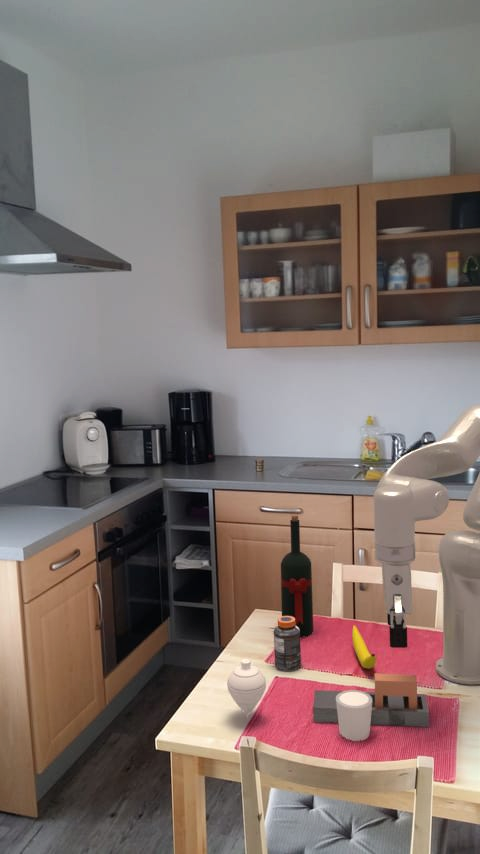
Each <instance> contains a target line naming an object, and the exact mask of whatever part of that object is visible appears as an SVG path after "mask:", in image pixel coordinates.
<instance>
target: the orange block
mask: <svg viewBox="0 0 480 854" xmlns="http://www.w3.org/2000/svg"><path fill="white" fill-rule="evenodd" d="M417 680H418V679H417V674H402V673H401V674H399V673H375V672H374V692H375V708H383V695H385V696H408V709H417V694H418V681H417Z"/></svg>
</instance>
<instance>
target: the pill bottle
mask: <svg viewBox="0 0 480 854" xmlns="http://www.w3.org/2000/svg"><path fill="white" fill-rule="evenodd" d="M295 624H296V622H295V618H294V617H292V616H282V615H281V616H280V617H278V619H277V626H276V627H274V629H273V642H274V643H273V644H274V645H273V647H274V649H273V650H274V666H275V668H276V669H278V670H280V671H283V672H295V671H297V670H298V669H300V667H301V665H302V656H301V655H302V654H301V652H302V651H301V649H302V648H301V638H300V630H299V628H298V627H297V626H295Z"/></svg>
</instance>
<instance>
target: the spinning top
mask: <svg viewBox="0 0 480 854" xmlns="http://www.w3.org/2000/svg"><path fill="white" fill-rule="evenodd" d="M251 661H252V660H251V659H248V658H244V659H241V660H240V665H238V666H236V667H234V669H233V670H232V671H231V672H230V674H229V676H228V678H227V684H226V685H227V690H228V693H229V694H230V697H231V698H232V699H233V701H234V702H235V704H236V705H237V706H238V707H239V708H240V709H241V710H242V711H243V713H244V714H245V715H246V718H247V719H249V718H250V717H249V716H250V713H252V711H254V709H255V708H256V706H257V705H258V703H259V702H260V701H261V699H262V697H263V696H264V693H265V691H266V688H267V680H266V676H265V675H264V673H263V672H262V670H261V669H260V668H258V667H257V666H255V665H252V664H251V663H252V662H251Z"/></svg>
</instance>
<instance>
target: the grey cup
mask: <svg viewBox="0 0 480 854" xmlns="http://www.w3.org/2000/svg"><path fill="white" fill-rule="evenodd" d="M342 691H343V692H341V693H339V694H338V695H337V696H336V704H337V713H338V722H339V723H338V727H339V728H338V729H339V735H340V734H341V735H342V736H343V737H345V738H346V739H350V740H352V741H351V742H361V741H364V740H366V739H368V738H369V736H370V733H371V725H370V723H371V711H372V697H371V696H370V695H369V694H367V693H365V692H366V691H361V690H357V689H349V690H342ZM341 735H340V736H341ZM342 736H341V737H342ZM343 737H342V738H343ZM345 738H344V739H345ZM346 739H345V740H346ZM350 740H349V741H350ZM360 740H361V741H360Z"/></svg>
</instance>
